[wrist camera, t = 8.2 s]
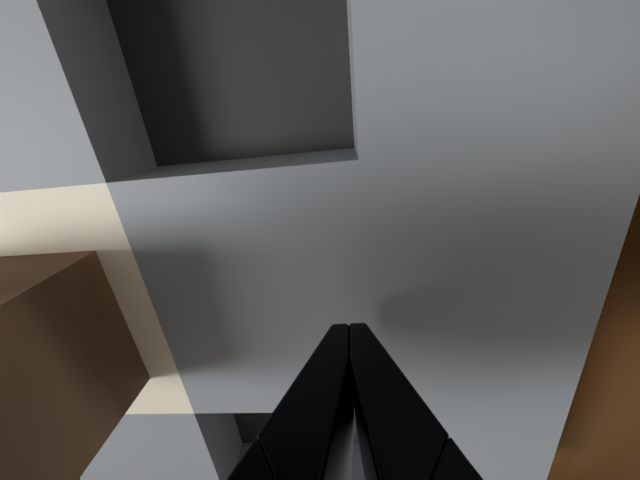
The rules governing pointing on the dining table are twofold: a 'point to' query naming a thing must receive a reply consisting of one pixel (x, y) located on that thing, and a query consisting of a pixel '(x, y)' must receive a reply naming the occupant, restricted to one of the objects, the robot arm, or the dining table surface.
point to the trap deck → (329, 201)
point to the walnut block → (61, 364)
